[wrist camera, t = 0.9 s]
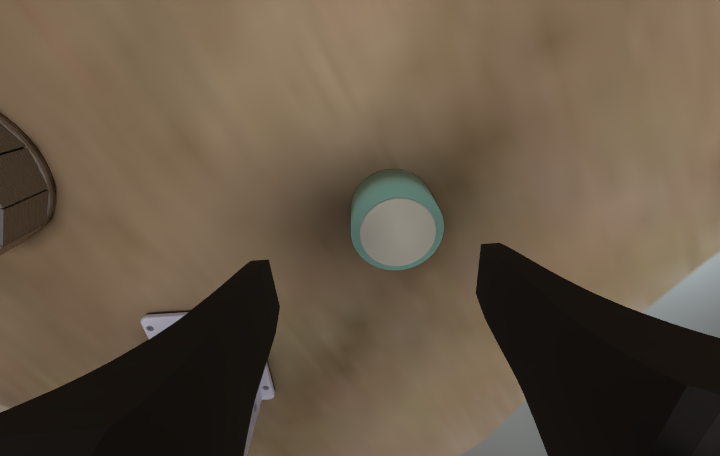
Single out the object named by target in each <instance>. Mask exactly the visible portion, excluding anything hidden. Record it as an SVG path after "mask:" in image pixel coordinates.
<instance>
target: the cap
mask: <svg viewBox="0 0 720 456" xmlns="http://www.w3.org/2000/svg"><path fill="white" fill-rule="evenodd" d="M443 233H444V221H443V216H442V213H441V211H440V209H439V207H438V206H437V204H436V202H435V200H434V198H433V197H432V195H431V193H430V191H429V190H428V188H427V186H426V185H425V183H424V182H423V181H422V180H421V179H420V178H419V177H417V176H416V175H414V174H412V173H410V172H408V171H404V170H399V169H388V170H383V171H379V172H377V173H374V174H372V175H370V176H369V177H368V178H366V179H365V180H364V181H363V182H362V183H361V184H360V185H359V186H358V188H357V189H356V191H355V193H354V195H353V198H352V203H351V239H352V243H353V246H354V248H355V250H356V251H357V253H358V254H359V255H360V256H361V257H362V258H363V259H364V260H365V261H366V262H368V263H369V264H371V265H373V266H375V267H377V268H380V269H384V270H405V269H409V268H412V267H415V266H417V265H419V264H421V263H423V262H424V261H426V260H427V259H428V258H429V257H430V256H431V255H432V254H433V253H434V252H435V251H436V250H437V248H438V246H439V245H440V243H441V240H442V237H443Z"/></svg>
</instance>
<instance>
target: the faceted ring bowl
mask: <svg viewBox="0 0 720 456" xmlns="http://www.w3.org/2000/svg"><path fill="white" fill-rule="evenodd" d="M55 204H56V191H55V185H54V181H53V178H52V175H51V172H50V170H49V168H48V166H47V164H46V162H45V160H44V158H43V157H42V155H41V154H40V152H39V151H38V149H37V148H36V147H35V145H34V144H33V143H32V142H31V140H30V139H29V138H28V137H27V136H26V135H25V134H24V133H23V132H22V131H21V130H20V129H19V128H18V127H17V126H16V125H15V124H14V123H13V122H11V121H10V120H9V119H8V118H6V117H5V116H4V115H2V114H1V113H0V255H1V254H3V253H5V252H6V251H8V250H10V249H12V248H13V247H15V246H17V245H19V244H20V243H22V242H24V241H25V240H26V239H27V238H28V237H30V236H31V235H32V234H34V233H36V232H37V231H39V230H40V229H42V228H43V227H44V226H45V225H46V224H47V223H48V222H49V220H50V219H51V217H52V215H53V212H54V209H55Z"/></svg>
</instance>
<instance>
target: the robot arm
mask: <svg viewBox="0 0 720 456" xmlns="http://www.w3.org/2000/svg"><path fill="white" fill-rule="evenodd" d="M476 295H477V298H478V300H479V303H480V306H481V309H482V312H483V314H484V317H485V319H486V321H487V323H488V325H489V327H490V329H491V331H492V333H493V335H494V337H495V339H496V341H497V342H498V344H499V346H500V348H501V350H502V352H503V354H504V356H505V358H506V359H507V361H508V363H509V365H510V367H511V369H512V371H513V373H514V374H515V376H516V378H517V380H518V383H519V385H520V387H521V389H522V391H523V393H524V396H525V398H526V401H527V403H528V406H529V408H530V411H531V413H532V415H533V418H534V420H535V423H536V425H537V428H538V431H539V433H540V436H541V439H542V441H543V444H544V446H545V449H546V452H547V454H548V456H720V338H717V337H714V336H710V335H707V334H703V333H700V332H697V331H693V330H690V329H687V328H684V327H680V326H678V325H674V324H671V323H669V322H666V321H663V320H660V319H657V318H654V317H652V316H649V315H646V314H643V313H640V312H638V311H635V310H632V309H630V308H627V307H625V306H622V305H620V304H618V303H615V302H613V301H611V300H608V299H606V298H603V297H601V296H599V295H597V294H594V293H592V292H590V291H588V290H586V289H584V288H582V287H580V286H578V285H576V284H574V283H572V282H570V281H568V280H566V279H564V278H562V277H560V276H558V275H556V274H555V273H553V272H551V271H549V270H547V269H546V268H544V267H542V266H540V265H539V264H537V263H535V262H533V261H532V260H530V259H528V258H526V257H525V256H523V255H521V254H519V253H518V252H516V251H514V250H512V249H511V248H509V247H507V246H505V245H503V244H501V243H492V244H481V251H480V260H479V269H478V278H477V287H476ZM279 308H280V306H279V302H278V297H277V293H276V289H275V285H274V280H273V276H272V272H271V268H270V263H269V260H258V261H250V262H249V263H248V264H246V265H245V266H244V267H243V268H241V269H240V270H239V271H238V272H237V273H236V274H234V275H233V276H232V277H231V278H230V279H229V280H228V281H226V282H225V283H224V284H223V285H222V286H221V287H219V288H218V289H217V290H216V291H215V292H213V293H212V294H211V295H210V296H209V297H207V298H206V299H205V300H204V301H202V302H201V303H200V304H198V305H197V306H196V307H195V308H193V309H192V310H191V311H190V312H183V313H166V314H149V315H145V316H144V317H143V318H142V319H141V324H142V326H143V328H144V330H145V333H146V335H147V337H148V339H149V340H147V341H146V342H144V343H142V344H141V345H139V346H137V347H135V348H134V349H132V350H130V351H128V352H127V353H125V354H123V355H121V356H120V357H118V358H116V359H115V360H113V361H111V362H109V363H107V364H105V365H103V366H101V367H100V368H98V369H96V370H94V371H92V372H90V373H88V374H86V375H84V376H82V377H80V378H78V379H76V380H74V381H71V382H69V383H67V384H65V385H63V386H61V387H59V388H57V389H54V390H52V391H50V392H48V393H45V394H43V395H41V396H38V397H36V398H34V399H31V400H29V401H27V402H25V403H22V404H20V405H18V406H15V407H13V408H11V409H8V410H6V411H3V412H1V413H0V456H247V455H248V452H249V448H250V444H251V440H252V436H253V432H254V429H255V425H256V421H257V417H258V413H259V409H260V406H261V402H262V400H269V399H272V398H273V397H274V395H275V390H274V387H273V383H272V379H271V375H270V372H269V368H268V364H267V359H268V356H269V353H270V350H271V346H272V343H273V340H274V336H275V333H276V327H277V321H278V315H279ZM151 326H152V327H151Z"/></svg>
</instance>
